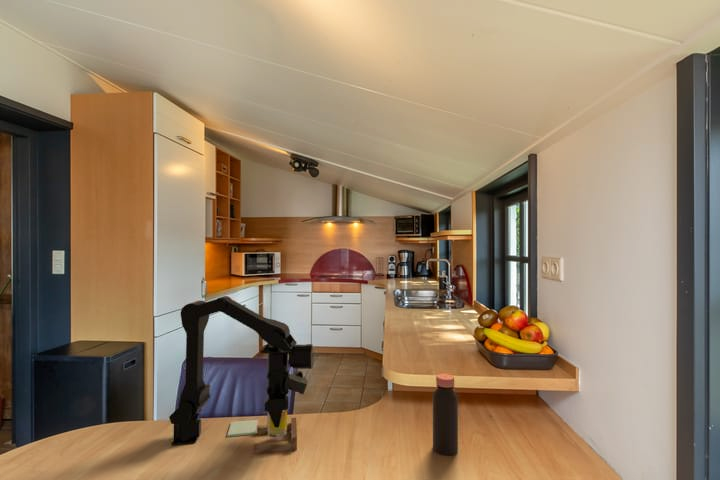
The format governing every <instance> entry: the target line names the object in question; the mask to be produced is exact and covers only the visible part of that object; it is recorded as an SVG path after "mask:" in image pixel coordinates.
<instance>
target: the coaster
mask: <svg viewBox="0 0 720 480" xmlns="http://www.w3.org/2000/svg"><path fill="white" fill-rule="evenodd" d="M258 421H259V420H258V419H252V420H250V419H249V420H241V421H231V423H230V426H229V429H228V432H227V436H226V437H227V438H228V437H240V436H251V435H257V426H258Z"/></svg>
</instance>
